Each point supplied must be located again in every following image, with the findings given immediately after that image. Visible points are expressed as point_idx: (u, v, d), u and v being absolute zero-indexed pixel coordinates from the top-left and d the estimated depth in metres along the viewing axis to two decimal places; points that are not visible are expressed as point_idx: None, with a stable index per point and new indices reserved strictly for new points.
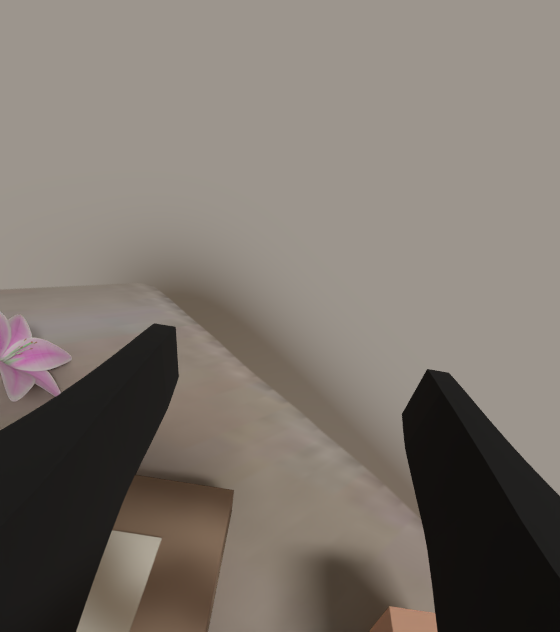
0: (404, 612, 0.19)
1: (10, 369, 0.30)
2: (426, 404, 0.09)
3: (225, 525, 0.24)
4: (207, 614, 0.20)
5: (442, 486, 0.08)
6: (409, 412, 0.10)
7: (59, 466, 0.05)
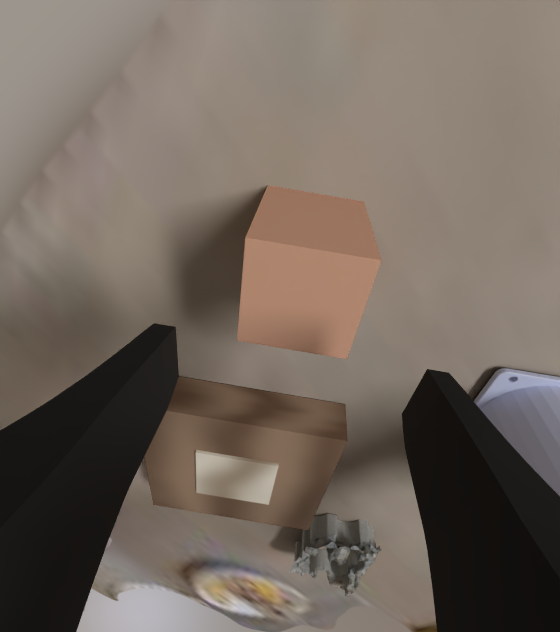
0: (242, 326, 0.14)
1: None
2: (426, 404, 0.09)
3: (173, 412, 0.22)
4: (247, 424, 0.22)
5: (442, 486, 0.08)
6: (409, 412, 0.10)
7: (59, 466, 0.05)
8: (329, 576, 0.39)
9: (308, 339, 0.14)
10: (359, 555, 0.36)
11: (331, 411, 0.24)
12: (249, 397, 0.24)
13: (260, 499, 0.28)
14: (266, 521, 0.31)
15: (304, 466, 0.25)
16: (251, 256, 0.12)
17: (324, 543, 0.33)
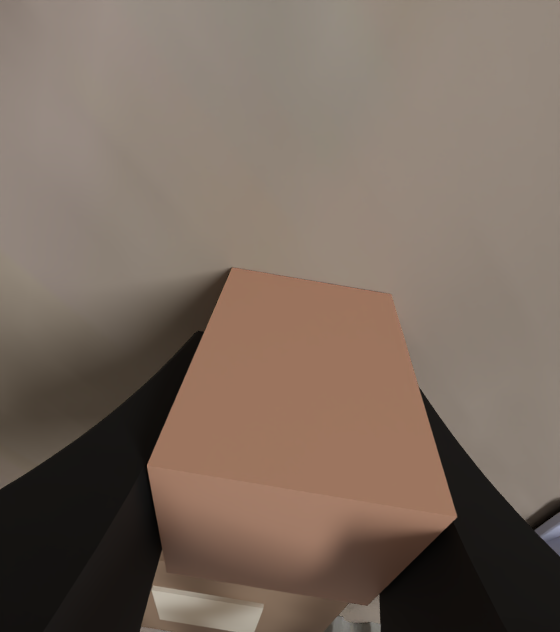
0: (172, 561, 0.07)
1: None
2: None
3: None
4: None
5: None
6: None
7: (137, 479, 0.05)
8: None
9: (296, 583, 0.07)
10: None
11: None
12: None
13: (241, 630, 0.21)
14: None
15: (298, 608, 0.18)
16: (168, 490, 0.05)
17: None
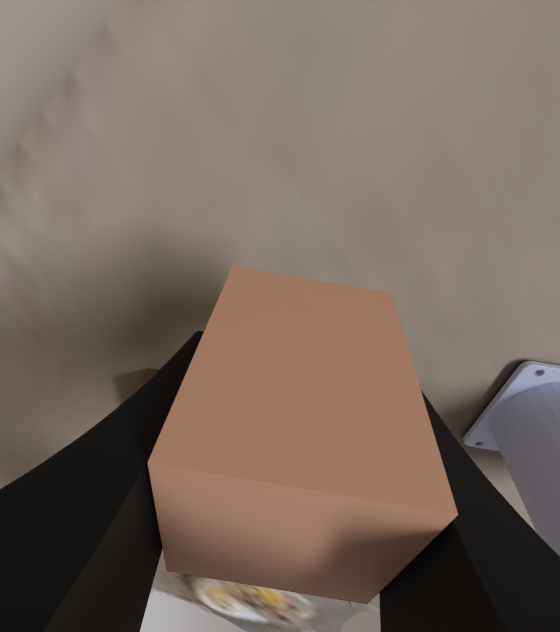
0: (172, 559, 0.07)
1: None
2: None
3: None
4: None
5: None
6: None
7: (137, 479, 0.05)
8: None
9: (296, 582, 0.07)
10: None
11: None
12: None
13: None
14: None
15: None
16: (168, 487, 0.05)
17: None
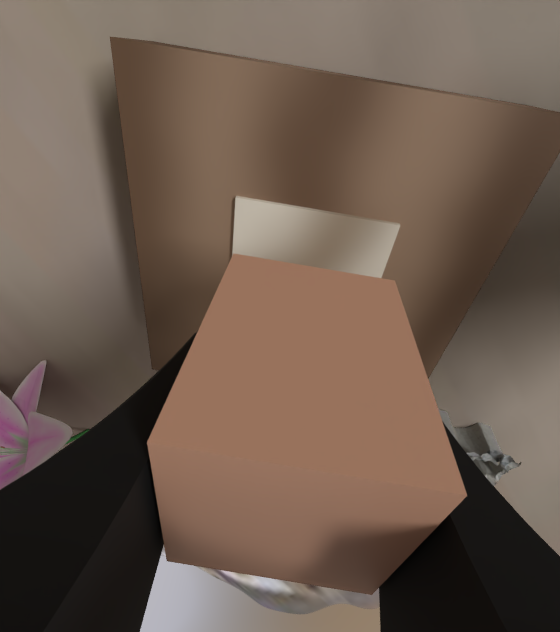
0: (172, 548, 0.07)
1: (30, 450, 0.21)
2: None
3: (195, 54, 0.10)
4: (358, 81, 0.10)
5: None
6: None
7: (137, 479, 0.05)
8: None
9: (299, 571, 0.07)
10: None
11: (513, 103, 0.12)
12: (346, 75, 0.12)
13: None
14: None
15: (451, 228, 0.12)
16: (169, 469, 0.05)
17: None
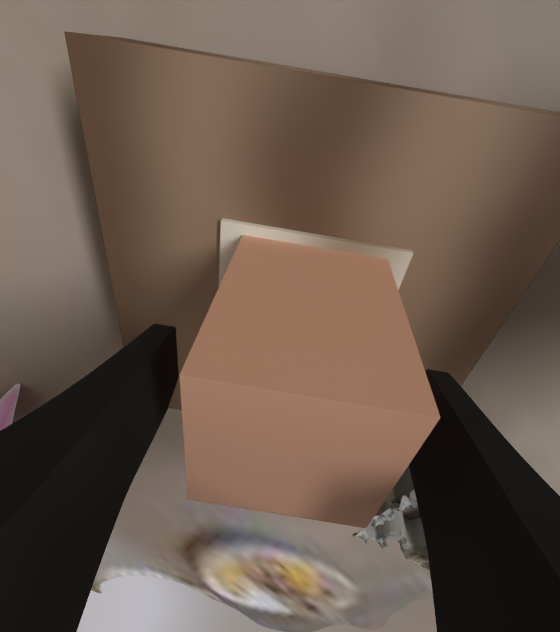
0: (193, 484, 0.08)
1: None
2: None
3: (168, 53, 0.08)
4: (366, 86, 0.08)
5: (442, 486, 0.08)
6: None
7: (59, 466, 0.05)
8: (404, 547, 0.25)
9: (303, 504, 0.08)
10: None
11: (547, 111, 0.10)
12: (350, 77, 0.10)
13: None
14: None
15: (472, 256, 0.11)
16: (195, 401, 0.06)
17: None
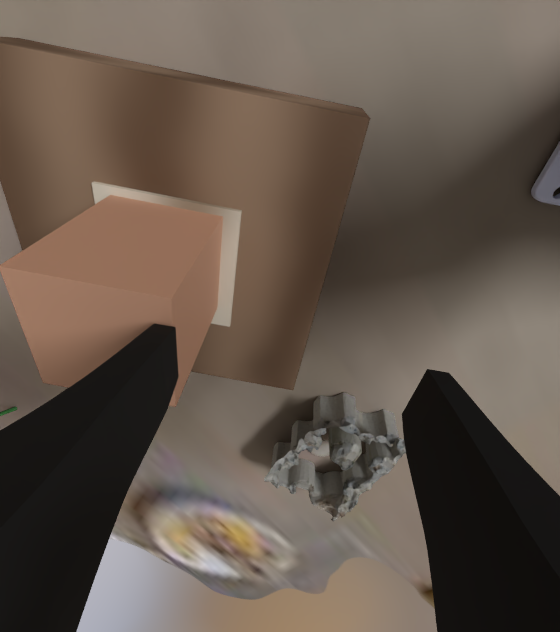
0: (42, 367, 0.11)
1: None
2: (426, 404, 0.09)
3: (31, 52, 0.11)
4: (176, 81, 0.12)
5: (442, 486, 0.08)
6: (409, 412, 0.10)
7: (59, 466, 0.05)
8: (311, 494, 0.29)
9: None
10: (372, 460, 0.25)
11: (338, 105, 0.13)
12: (189, 75, 0.13)
13: None
14: (229, 373, 0.20)
15: (287, 216, 0.14)
16: (16, 289, 0.09)
17: (340, 426, 0.22)
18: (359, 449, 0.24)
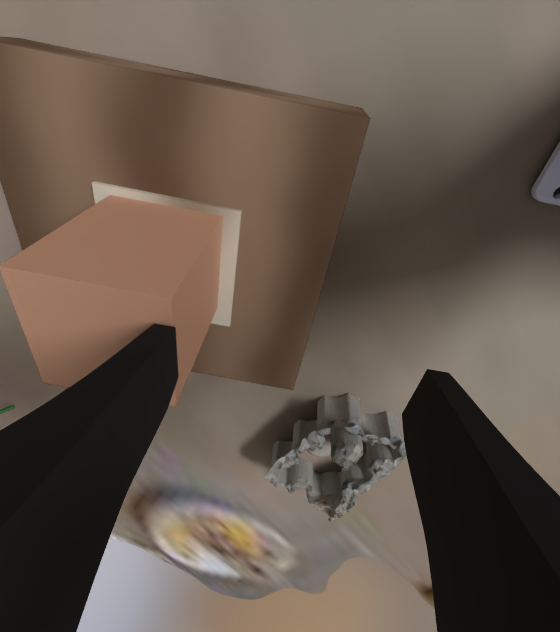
0: (42, 367, 0.11)
1: None
2: (426, 404, 0.09)
3: (31, 52, 0.11)
4: (176, 81, 0.12)
5: (442, 486, 0.08)
6: (409, 412, 0.10)
7: (59, 466, 0.05)
8: (309, 494, 0.29)
9: None
10: (372, 461, 0.25)
11: (338, 105, 0.13)
12: (189, 75, 0.13)
13: None
14: (229, 373, 0.20)
15: (287, 215, 0.14)
16: (16, 288, 0.09)
17: (345, 426, 0.22)
18: (361, 450, 0.25)
